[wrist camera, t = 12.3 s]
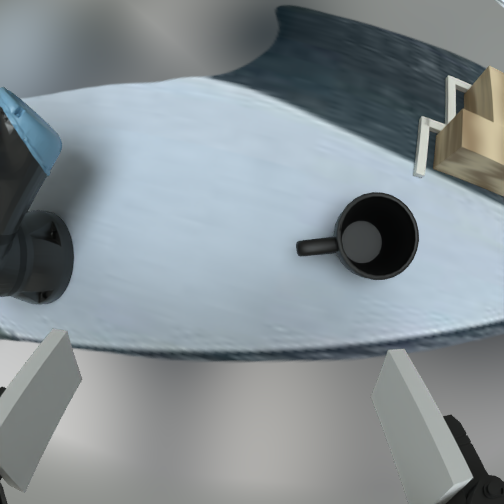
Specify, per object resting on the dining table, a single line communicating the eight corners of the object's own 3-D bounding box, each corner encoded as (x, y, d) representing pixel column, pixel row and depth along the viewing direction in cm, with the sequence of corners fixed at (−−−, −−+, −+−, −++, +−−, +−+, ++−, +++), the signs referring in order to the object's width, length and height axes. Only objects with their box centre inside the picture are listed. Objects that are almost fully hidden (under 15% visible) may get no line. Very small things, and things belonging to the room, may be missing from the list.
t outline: (413, 175, 37) (416, 172, 36) (421, 70, 37) (424, 66, 35) (522, 217, 34) (527, 216, 32) (522, 115, 34) (526, 113, 32)
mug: (293, 216, 39) (290, 201, 30) (388, 205, 37) (412, 188, 28) (301, 283, 39) (300, 290, 29) (396, 271, 37) (424, 274, 27)
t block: (433, 168, 36) (461, 146, 27) (438, 84, 36) (460, 52, 27) (511, 200, 34) (547, 188, 25) (511, 117, 34) (540, 95, 25)
